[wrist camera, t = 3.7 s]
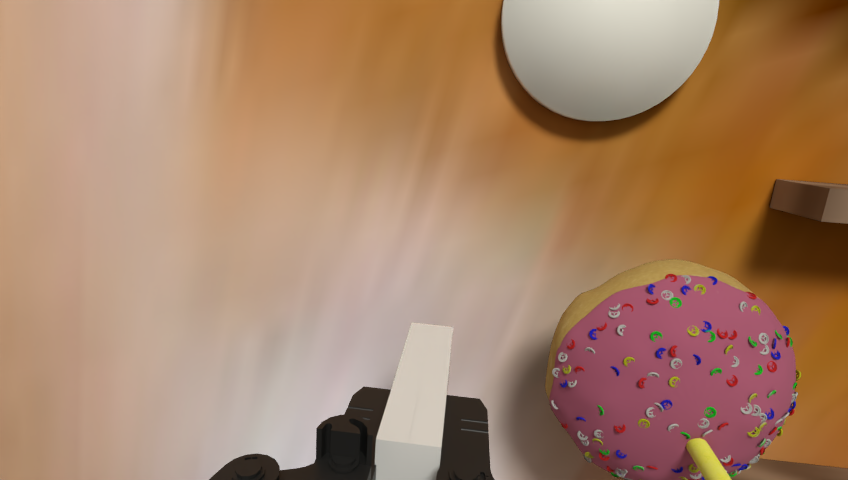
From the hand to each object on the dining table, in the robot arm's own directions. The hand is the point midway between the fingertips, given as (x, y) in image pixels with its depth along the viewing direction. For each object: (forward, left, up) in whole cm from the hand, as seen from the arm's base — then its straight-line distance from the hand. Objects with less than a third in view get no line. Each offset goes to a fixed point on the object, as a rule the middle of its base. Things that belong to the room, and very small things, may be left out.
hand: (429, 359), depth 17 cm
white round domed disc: (+6, +13, -5) cm, 15 cm away
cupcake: (+9, 0, -6) cm, 10 cm away
